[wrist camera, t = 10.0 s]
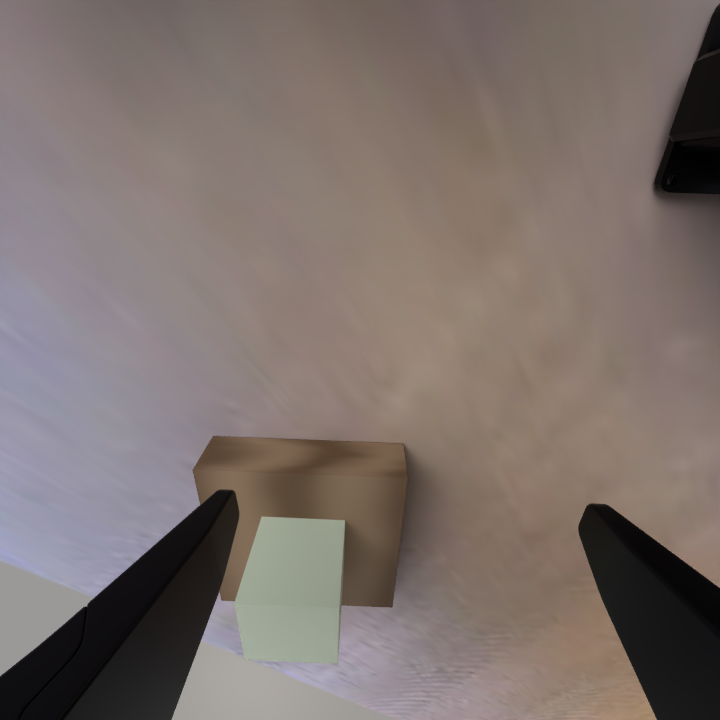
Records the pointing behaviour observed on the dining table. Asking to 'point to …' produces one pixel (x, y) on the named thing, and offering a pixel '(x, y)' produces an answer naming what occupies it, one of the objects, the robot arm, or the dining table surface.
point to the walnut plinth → (315, 501)
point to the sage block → (293, 591)
